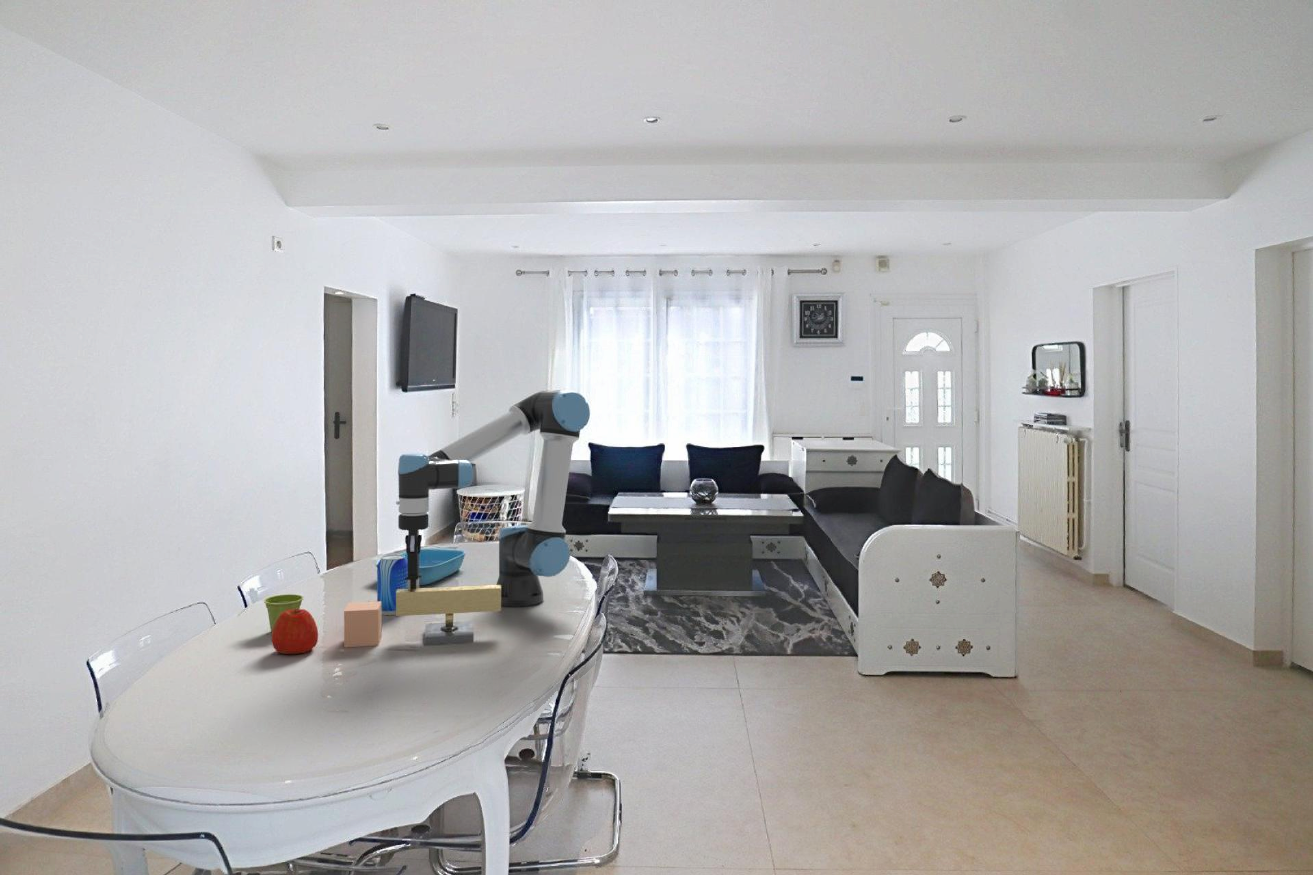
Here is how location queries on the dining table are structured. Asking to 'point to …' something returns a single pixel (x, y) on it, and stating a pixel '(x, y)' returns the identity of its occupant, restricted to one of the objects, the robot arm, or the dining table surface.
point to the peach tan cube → (362, 624)
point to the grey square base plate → (449, 633)
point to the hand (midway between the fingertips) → (413, 603)
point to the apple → (294, 632)
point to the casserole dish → (437, 563)
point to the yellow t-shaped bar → (448, 601)
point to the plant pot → (281, 606)
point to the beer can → (391, 581)
